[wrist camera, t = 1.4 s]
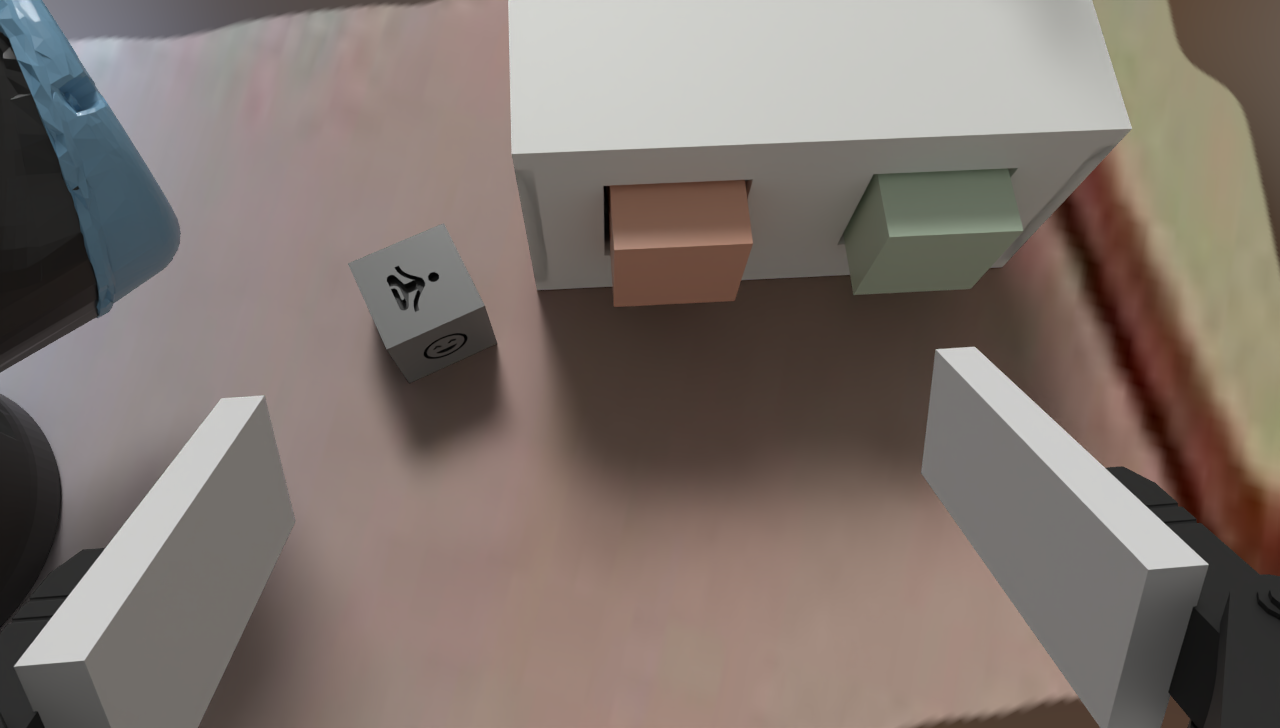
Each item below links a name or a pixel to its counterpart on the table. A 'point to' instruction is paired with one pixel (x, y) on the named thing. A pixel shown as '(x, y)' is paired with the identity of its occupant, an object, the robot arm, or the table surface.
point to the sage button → (930, 230)
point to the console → (795, 112)
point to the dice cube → (424, 303)
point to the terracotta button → (678, 241)
